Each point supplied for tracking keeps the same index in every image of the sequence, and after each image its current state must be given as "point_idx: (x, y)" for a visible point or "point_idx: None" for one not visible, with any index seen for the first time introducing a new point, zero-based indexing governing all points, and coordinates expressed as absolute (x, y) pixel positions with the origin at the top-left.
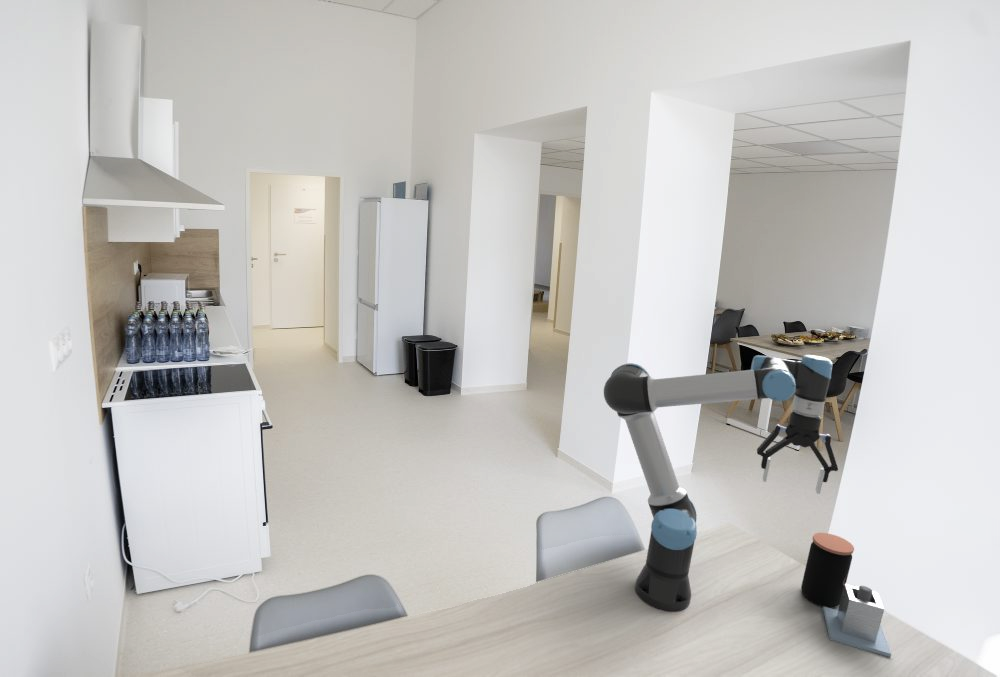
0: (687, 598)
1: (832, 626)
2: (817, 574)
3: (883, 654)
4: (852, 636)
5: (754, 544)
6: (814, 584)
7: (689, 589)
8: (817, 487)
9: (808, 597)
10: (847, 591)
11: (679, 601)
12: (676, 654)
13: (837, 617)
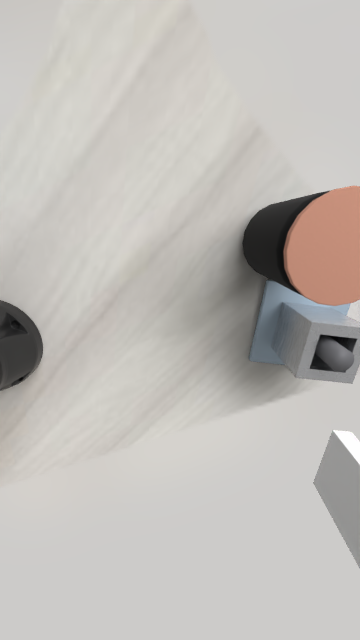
0: (30, 370)
1: (262, 335)
2: (270, 277)
3: None
4: None
5: (182, 27)
6: (261, 272)
7: (25, 363)
8: (338, 497)
9: (248, 263)
10: (304, 350)
11: (19, 380)
12: (38, 454)
13: (281, 308)
